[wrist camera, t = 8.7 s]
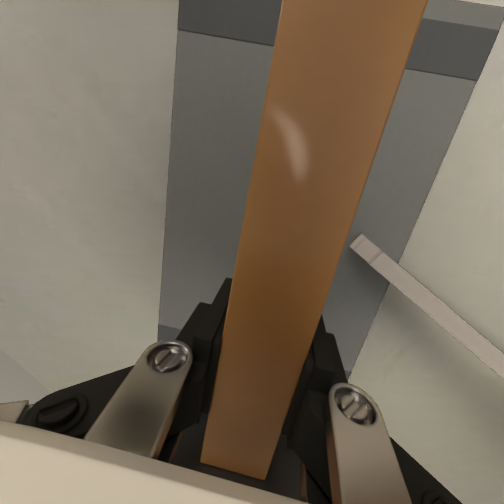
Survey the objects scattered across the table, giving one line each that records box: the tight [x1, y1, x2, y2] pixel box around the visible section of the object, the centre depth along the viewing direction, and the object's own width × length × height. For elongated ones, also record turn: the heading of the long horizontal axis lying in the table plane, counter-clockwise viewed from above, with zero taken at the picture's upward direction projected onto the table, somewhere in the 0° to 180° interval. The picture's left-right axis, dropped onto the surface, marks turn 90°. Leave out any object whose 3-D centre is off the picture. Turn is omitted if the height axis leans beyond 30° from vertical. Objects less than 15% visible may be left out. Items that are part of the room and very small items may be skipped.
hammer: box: [173, 0, 428, 501], centre depth 8 cm, size 8×19×4 cm, turn 169°
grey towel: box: [157, 0, 504, 381], centre depth 15 cm, size 15×24×1 cm, turn 169°
